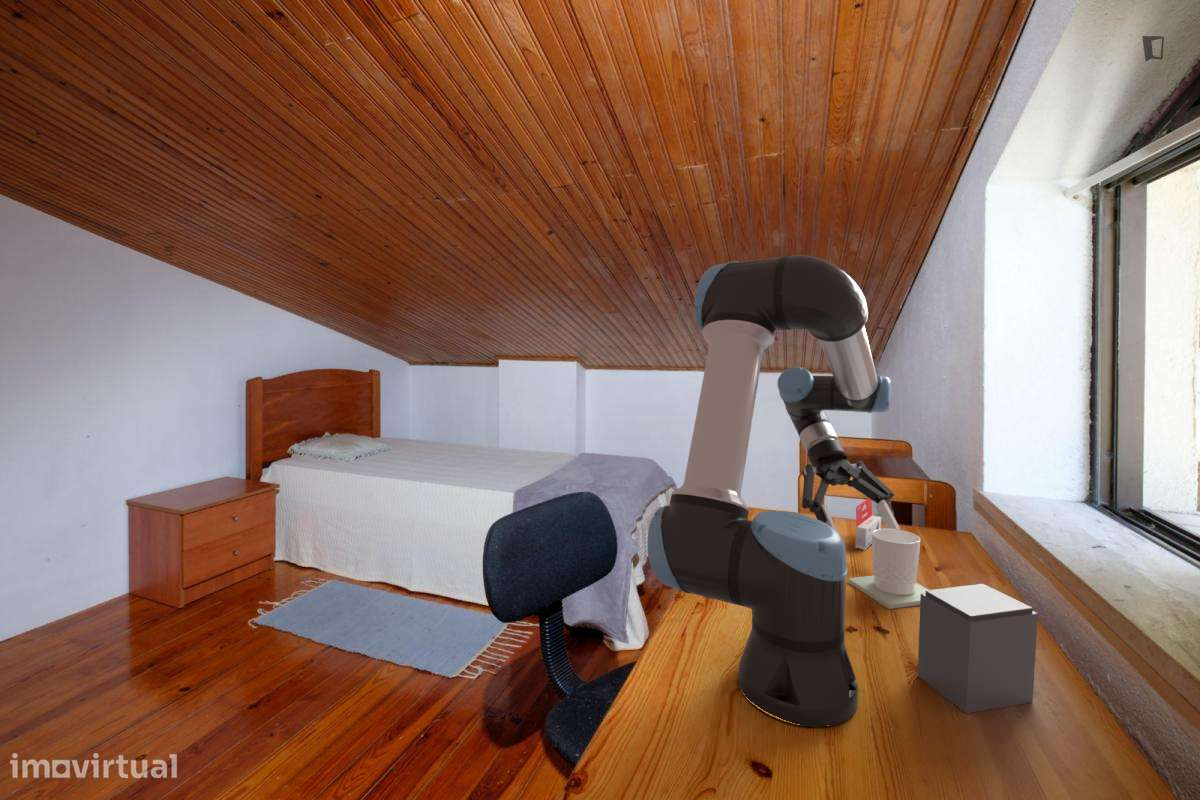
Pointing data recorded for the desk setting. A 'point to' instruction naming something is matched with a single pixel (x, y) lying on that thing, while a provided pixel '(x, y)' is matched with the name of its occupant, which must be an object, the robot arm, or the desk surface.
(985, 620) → the block
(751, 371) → the robot arm
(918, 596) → the coaster
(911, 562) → the white cup
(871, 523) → the ink cartridge box
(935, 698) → the desk surface
